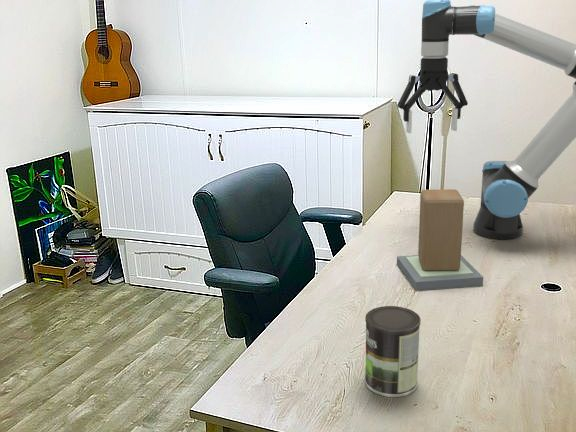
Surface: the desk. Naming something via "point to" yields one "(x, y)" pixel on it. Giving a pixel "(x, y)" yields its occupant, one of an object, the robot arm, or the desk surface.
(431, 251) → the wooden block
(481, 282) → the plinth
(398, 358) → the coffee can
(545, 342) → the desk surface
